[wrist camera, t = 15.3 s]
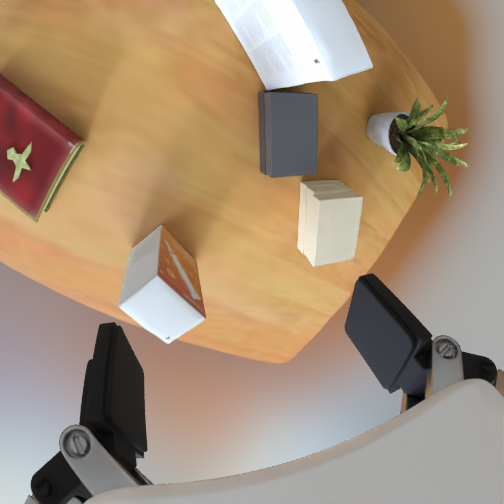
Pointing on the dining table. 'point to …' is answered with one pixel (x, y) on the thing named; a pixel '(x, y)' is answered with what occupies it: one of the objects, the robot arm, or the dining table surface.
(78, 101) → the dining table surface
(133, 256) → the small box
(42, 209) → the hardcover book
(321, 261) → the cream book
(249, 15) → the skincare box
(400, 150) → the house plant
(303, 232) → the cream book stack
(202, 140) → the dining table surface
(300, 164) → the grey book stack
